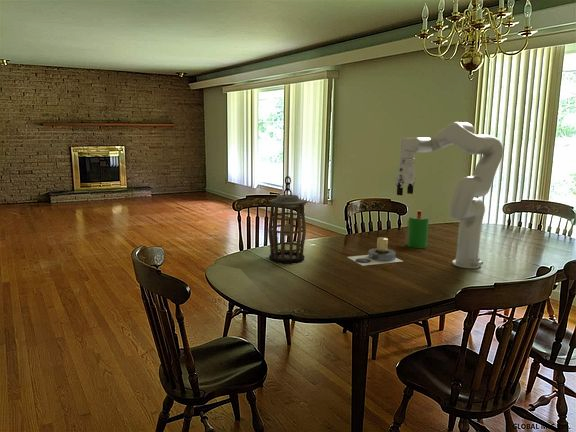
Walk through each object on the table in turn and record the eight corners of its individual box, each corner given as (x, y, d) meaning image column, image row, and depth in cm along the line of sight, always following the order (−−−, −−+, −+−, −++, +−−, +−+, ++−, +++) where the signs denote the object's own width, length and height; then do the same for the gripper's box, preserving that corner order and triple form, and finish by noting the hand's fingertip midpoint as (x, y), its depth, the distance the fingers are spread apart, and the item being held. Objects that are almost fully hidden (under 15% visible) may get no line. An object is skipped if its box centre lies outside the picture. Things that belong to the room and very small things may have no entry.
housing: (400, 259, 216) (400, 253, 215) (377, 262, 211) (377, 256, 211) (385, 253, 227) (385, 247, 227) (363, 255, 223) (363, 249, 222)
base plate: (403, 263, 214) (403, 260, 214) (362, 267, 206) (362, 264, 206) (385, 255, 228) (385, 252, 228) (346, 258, 220) (346, 256, 220)
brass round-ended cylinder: (389, 258, 218) (390, 239, 216) (380, 259, 216) (381, 240, 214) (383, 255, 223) (384, 236, 221) (374, 256, 221) (375, 237, 219)
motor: (425, 244, 250) (427, 208, 247) (428, 248, 242) (431, 211, 238) (406, 243, 251) (408, 208, 248) (409, 247, 243) (411, 211, 239)
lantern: (314, 257, 222) (316, 175, 214) (294, 267, 205) (295, 179, 198) (280, 251, 231) (281, 173, 224) (258, 260, 215) (258, 176, 208)
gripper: (403, 162, 228) (401, 196, 231) (422, 161, 239) (420, 193, 242) (390, 161, 233) (389, 195, 236) (409, 160, 245) (407, 192, 248)
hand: (404, 194), depth 239 cm, fingers open, 9 cm apart
